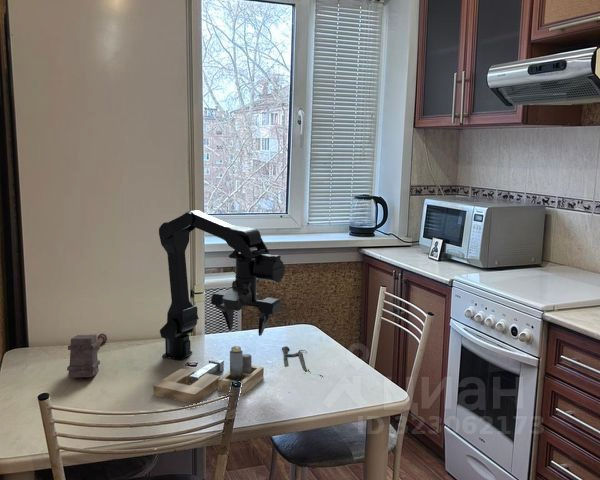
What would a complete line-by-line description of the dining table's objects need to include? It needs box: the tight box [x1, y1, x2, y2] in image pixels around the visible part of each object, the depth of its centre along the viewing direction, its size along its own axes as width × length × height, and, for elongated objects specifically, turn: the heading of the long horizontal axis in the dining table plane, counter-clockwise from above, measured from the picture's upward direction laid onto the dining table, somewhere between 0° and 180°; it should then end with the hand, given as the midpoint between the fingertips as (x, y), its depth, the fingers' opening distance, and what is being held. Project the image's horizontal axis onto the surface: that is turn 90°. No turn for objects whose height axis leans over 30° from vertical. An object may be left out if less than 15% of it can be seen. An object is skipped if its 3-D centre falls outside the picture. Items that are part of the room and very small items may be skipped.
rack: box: [217, 353, 265, 397], centre depth 150 cm, size 7×12×7 cm, turn 158°
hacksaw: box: [281, 345, 324, 378], centre depth 166 cm, size 24×10×2 cm, turn 4°
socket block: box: [152, 368, 221, 404], centre depth 146 cm, size 12×12×2 cm
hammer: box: [66, 332, 108, 378], centre depth 165 cm, size 7×33×10 cm, turn 9°
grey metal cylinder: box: [229, 345, 244, 382], centre depth 147 cm, size 3×3×10 cm
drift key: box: [189, 358, 225, 385], centre depth 154 cm, size 4×12×3 cm, turn 158°
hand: (245, 332), depth 156 cm, fingers open, 9 cm apart
